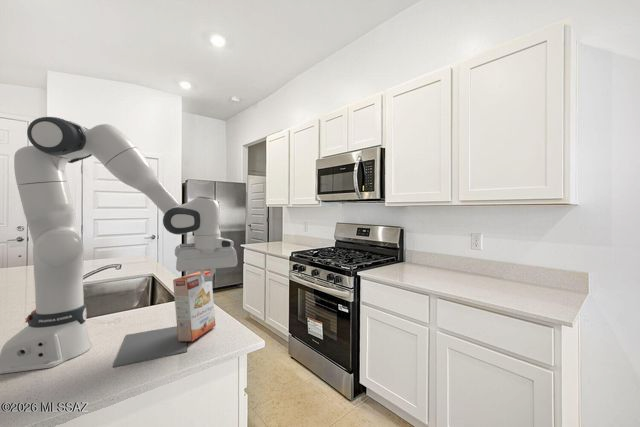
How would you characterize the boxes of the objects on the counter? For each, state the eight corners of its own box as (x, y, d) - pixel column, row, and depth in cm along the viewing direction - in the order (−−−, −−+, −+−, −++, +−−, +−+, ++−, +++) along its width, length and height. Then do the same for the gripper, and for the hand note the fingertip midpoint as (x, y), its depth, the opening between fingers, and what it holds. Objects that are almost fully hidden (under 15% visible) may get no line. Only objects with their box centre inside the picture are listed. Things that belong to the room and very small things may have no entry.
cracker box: (193, 342, 94) (187, 278, 94) (177, 342, 95) (171, 279, 95) (217, 325, 107) (211, 269, 108) (202, 326, 109) (197, 271, 109)
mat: (113, 367, 81) (112, 366, 81) (126, 335, 101) (126, 334, 101) (186, 352, 90) (186, 351, 90) (185, 325, 109) (185, 324, 109)
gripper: (174, 245, 94) (175, 287, 95) (238, 242, 103) (238, 280, 104) (174, 243, 100) (175, 282, 100) (235, 240, 109) (235, 276, 109)
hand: (207, 281), depth 102 cm, fingers closed
